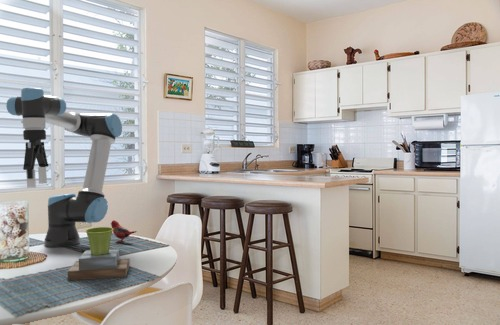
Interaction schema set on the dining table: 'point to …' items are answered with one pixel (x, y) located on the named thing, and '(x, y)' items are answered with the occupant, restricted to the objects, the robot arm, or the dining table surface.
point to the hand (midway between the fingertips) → (37, 185)
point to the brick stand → (99, 266)
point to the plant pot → (99, 240)
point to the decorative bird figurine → (120, 231)
